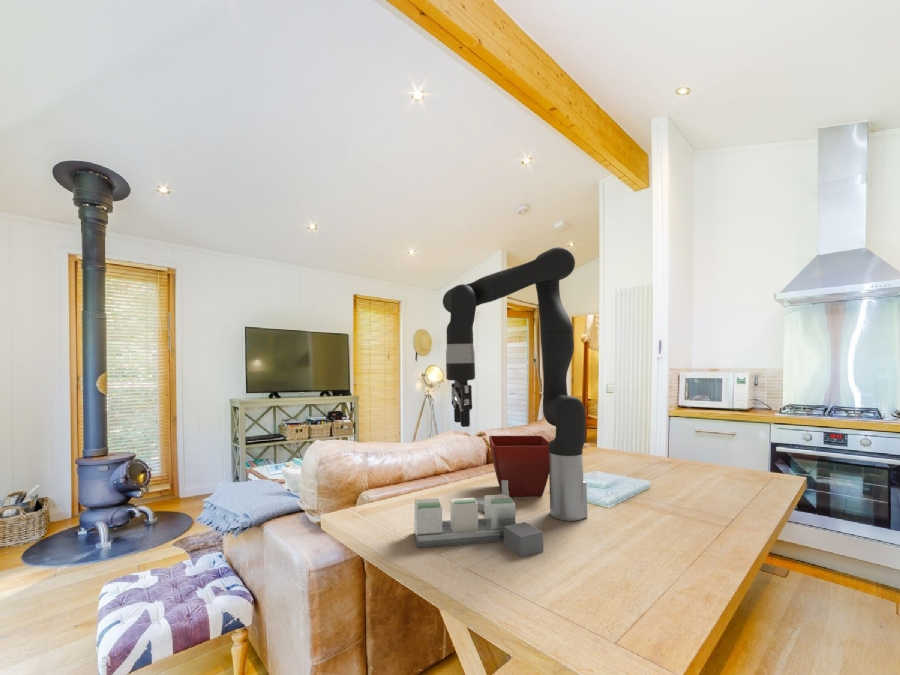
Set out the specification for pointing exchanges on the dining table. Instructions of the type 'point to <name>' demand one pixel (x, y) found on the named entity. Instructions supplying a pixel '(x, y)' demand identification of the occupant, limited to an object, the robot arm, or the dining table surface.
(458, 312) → the robot arm
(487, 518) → the rail board
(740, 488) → the dining table surface
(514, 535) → the block
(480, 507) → the electronic device
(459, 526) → the block
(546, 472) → the plant pot
